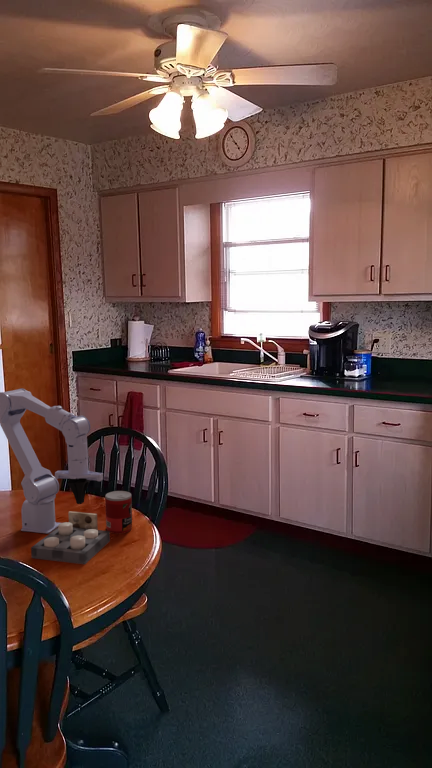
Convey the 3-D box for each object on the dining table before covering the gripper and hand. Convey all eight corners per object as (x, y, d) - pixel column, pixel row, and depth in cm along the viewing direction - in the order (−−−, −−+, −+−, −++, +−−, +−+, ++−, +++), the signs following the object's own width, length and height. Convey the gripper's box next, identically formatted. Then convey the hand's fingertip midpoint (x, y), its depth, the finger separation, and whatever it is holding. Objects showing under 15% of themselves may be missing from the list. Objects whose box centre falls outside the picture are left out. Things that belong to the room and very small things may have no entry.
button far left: (56, 536, 176) (55, 526, 176) (62, 530, 180) (62, 521, 180) (68, 537, 175) (68, 528, 175) (75, 532, 179) (74, 523, 179)
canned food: (127, 535, 183) (126, 499, 182) (102, 533, 185) (101, 498, 183) (135, 525, 191) (135, 491, 189) (111, 523, 192) (110, 489, 191)
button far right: (81, 543, 175) (81, 533, 174) (88, 537, 178) (87, 528, 178) (94, 544, 174) (94, 535, 173) (100, 539, 177) (100, 529, 177)
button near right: (67, 550, 167) (67, 540, 166) (74, 544, 170) (74, 534, 170) (81, 551, 166) (80, 541, 165) (88, 545, 169) (87, 536, 169)
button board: (31, 558, 168) (31, 547, 167) (60, 535, 183) (60, 526, 182) (85, 564, 164) (84, 553, 163) (110, 540, 179) (109, 531, 178)
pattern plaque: (68, 533, 185) (68, 512, 184) (70, 531, 186) (69, 511, 185) (96, 536, 183) (95, 515, 182) (97, 534, 184) (97, 513, 183)
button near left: (41, 551, 169) (41, 542, 168) (49, 545, 173) (48, 536, 172) (54, 553, 168) (54, 543, 167) (62, 547, 172) (61, 537, 171)
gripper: (48, 460, 177) (51, 505, 179) (94, 462, 173) (97, 509, 175) (60, 454, 183) (63, 498, 185) (105, 456, 180) (107, 501, 182)
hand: (80, 503), depth 181 cm, fingers closed
